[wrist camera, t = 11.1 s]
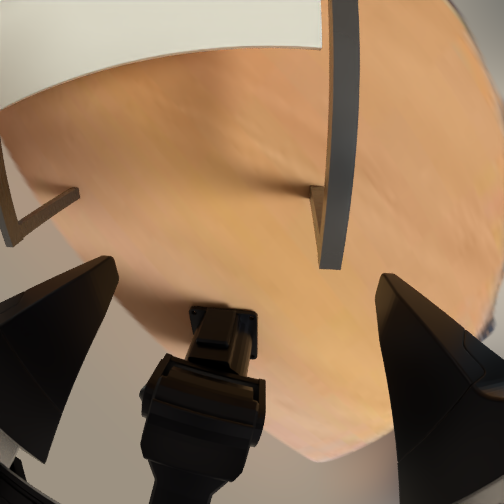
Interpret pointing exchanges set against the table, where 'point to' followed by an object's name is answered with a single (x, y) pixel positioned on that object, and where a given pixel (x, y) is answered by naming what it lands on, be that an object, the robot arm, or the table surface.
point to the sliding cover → (136, 35)
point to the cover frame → (321, 198)
